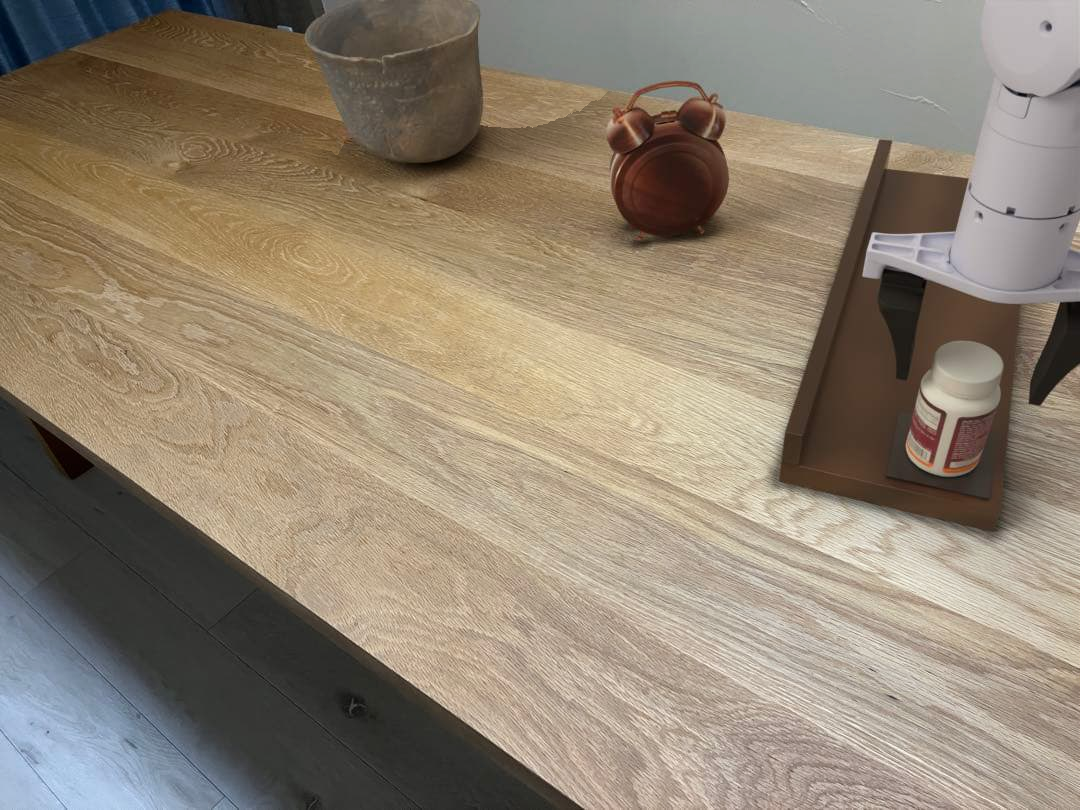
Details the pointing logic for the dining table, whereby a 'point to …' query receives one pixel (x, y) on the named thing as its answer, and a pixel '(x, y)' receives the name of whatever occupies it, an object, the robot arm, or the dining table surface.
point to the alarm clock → (668, 163)
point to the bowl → (403, 74)
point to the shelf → (870, 368)
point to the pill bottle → (955, 408)
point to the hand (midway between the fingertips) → (967, 381)
